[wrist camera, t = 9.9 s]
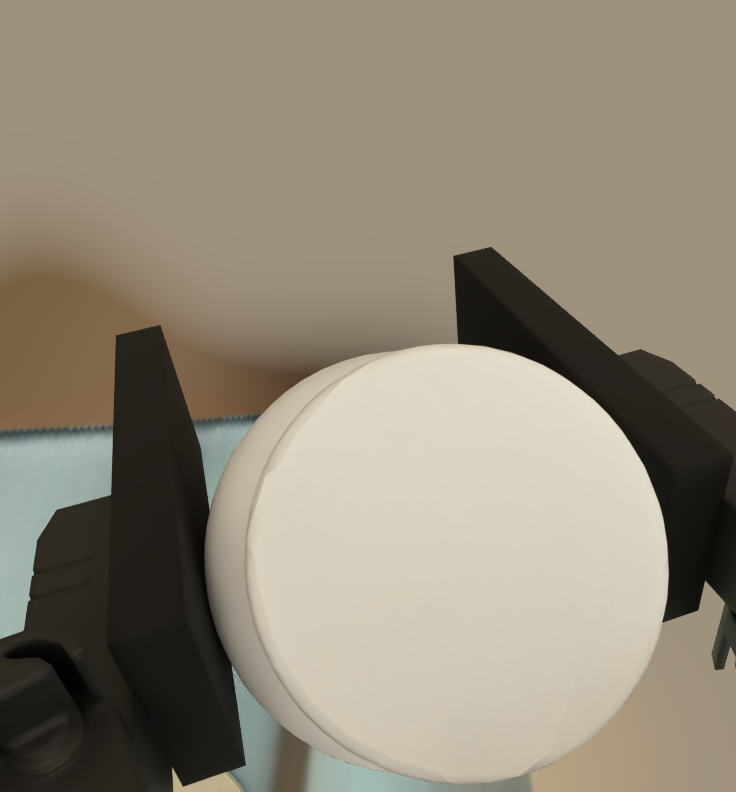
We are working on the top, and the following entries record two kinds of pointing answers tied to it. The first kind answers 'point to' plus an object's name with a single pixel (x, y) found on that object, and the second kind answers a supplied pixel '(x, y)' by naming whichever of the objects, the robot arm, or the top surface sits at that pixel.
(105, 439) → the top surface
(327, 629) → the pill bottle
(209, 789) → the lid
